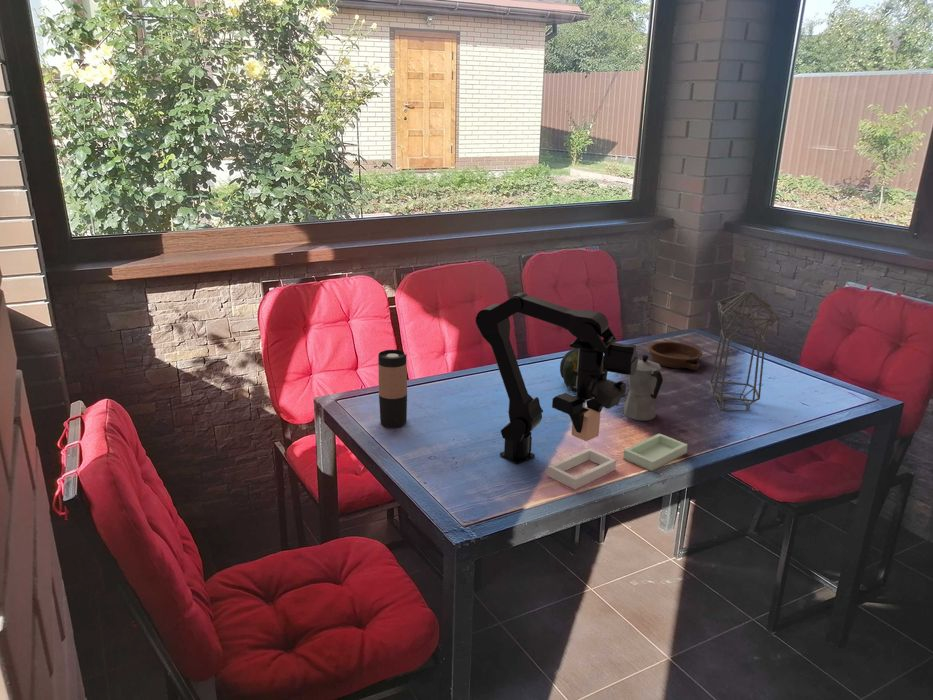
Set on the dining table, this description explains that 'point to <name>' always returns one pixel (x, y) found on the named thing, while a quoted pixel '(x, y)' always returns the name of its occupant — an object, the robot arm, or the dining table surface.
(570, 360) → the squash
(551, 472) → the grey bin
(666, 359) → the dish
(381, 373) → the travel mug
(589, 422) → the tan block
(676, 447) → the green bin
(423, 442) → the dining table surface
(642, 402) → the coffeepot
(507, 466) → the dining table surface
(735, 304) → the geometric lantern
